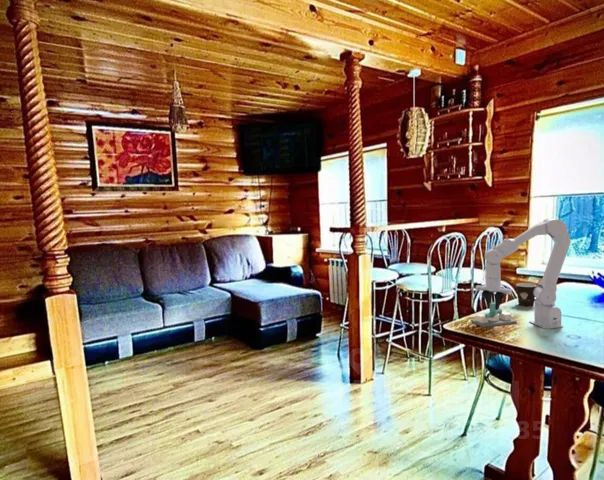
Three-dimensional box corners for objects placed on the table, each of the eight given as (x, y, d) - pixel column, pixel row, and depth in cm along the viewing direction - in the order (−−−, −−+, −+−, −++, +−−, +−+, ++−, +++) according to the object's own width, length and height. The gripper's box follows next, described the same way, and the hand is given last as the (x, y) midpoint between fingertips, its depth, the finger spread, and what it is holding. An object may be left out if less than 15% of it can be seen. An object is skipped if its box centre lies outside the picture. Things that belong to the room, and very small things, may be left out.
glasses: (495, 310, 176) (495, 299, 175) (504, 311, 173) (504, 300, 173) (482, 317, 167) (482, 305, 167) (491, 318, 165) (491, 306, 164)
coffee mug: (512, 304, 196) (512, 284, 195) (524, 301, 199) (524, 282, 198) (533, 309, 185) (533, 288, 184) (546, 307, 188) (546, 286, 187)
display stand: (504, 317, 176) (504, 310, 175) (516, 323, 168) (516, 315, 168) (471, 321, 173) (471, 313, 173) (482, 327, 165) (482, 318, 165)
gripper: (514, 277, 166) (515, 309, 167) (480, 274, 177) (480, 303, 178) (508, 280, 161) (508, 313, 162) (473, 276, 172) (473, 307, 173)
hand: (493, 308), depth 170 cm, fingers open, 3 cm apart
